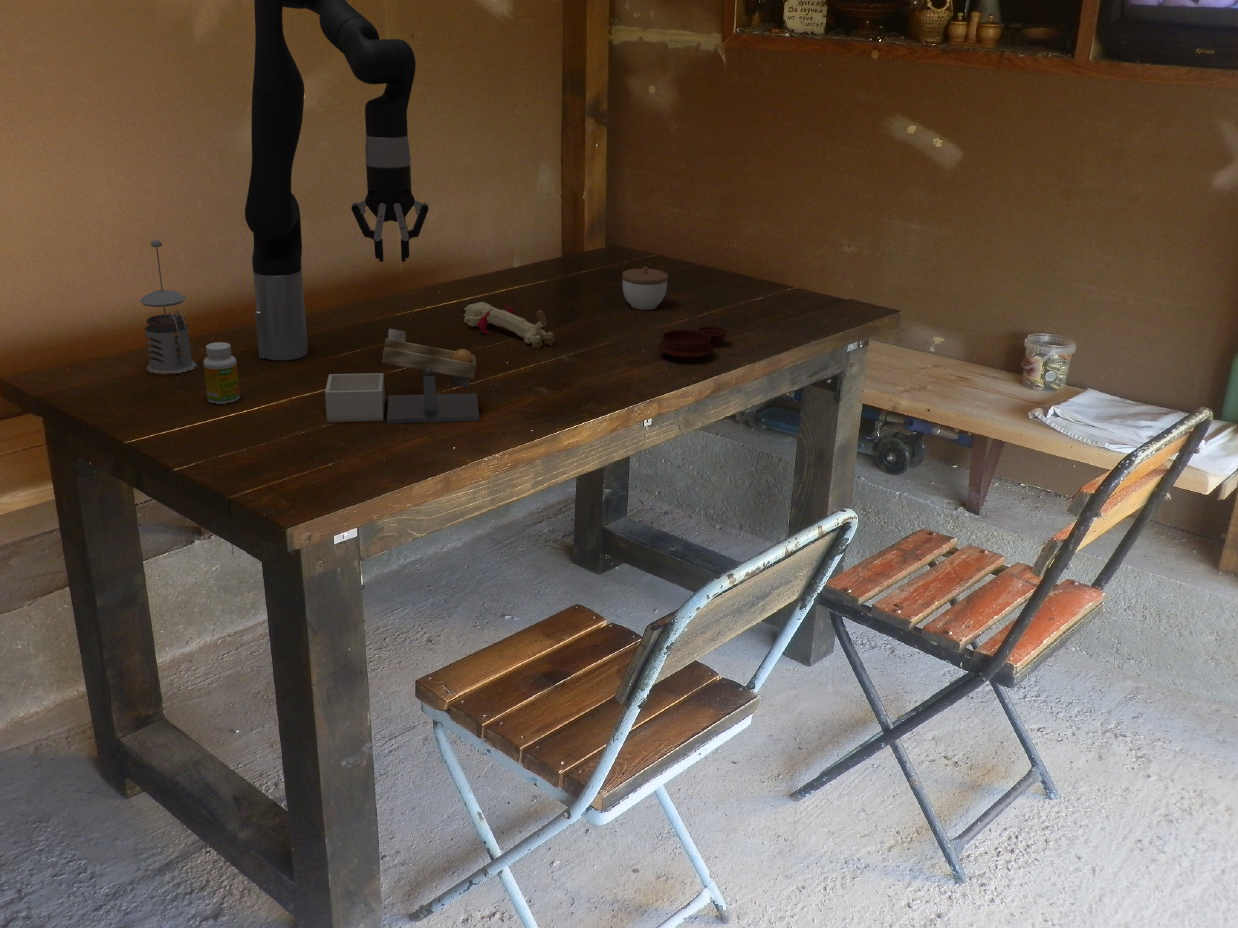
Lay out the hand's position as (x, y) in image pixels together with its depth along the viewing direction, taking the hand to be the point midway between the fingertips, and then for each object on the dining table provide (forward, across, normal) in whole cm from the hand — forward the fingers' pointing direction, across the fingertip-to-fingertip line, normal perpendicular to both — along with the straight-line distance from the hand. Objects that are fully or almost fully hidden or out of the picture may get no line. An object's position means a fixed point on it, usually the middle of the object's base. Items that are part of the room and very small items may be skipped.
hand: (392, 260), depth 214 cm
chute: (+19, +5, -6) cm, 20 cm away
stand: (+25, +6, -9) cm, 27 cm away
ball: (+16, +12, -9) cm, 22 cm away
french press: (+25, -43, +17) cm, 53 cm away
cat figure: (+26, +22, +37) cm, 50 cm away
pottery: (+26, +61, +22) cm, 70 cm away
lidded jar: (+25, +56, +57) cm, 84 cm away
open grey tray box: (+25, -7, -9) cm, 28 cm away
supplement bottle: (+25, -31, -1) cm, 40 cm away
